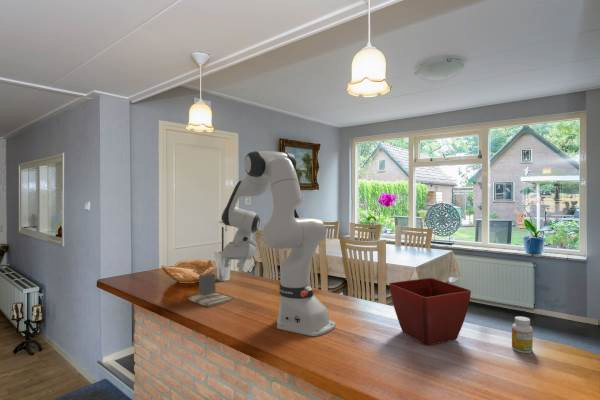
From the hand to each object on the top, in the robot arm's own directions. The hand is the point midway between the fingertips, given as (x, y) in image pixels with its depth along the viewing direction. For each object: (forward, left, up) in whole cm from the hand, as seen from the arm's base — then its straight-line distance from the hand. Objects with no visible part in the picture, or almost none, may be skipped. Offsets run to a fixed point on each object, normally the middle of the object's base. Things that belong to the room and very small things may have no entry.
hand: (232, 267), depth 172 cm
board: (-2, +15, -12) cm, 19 cm away
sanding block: (+3, +13, -11) cm, 17 cm away
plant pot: (-92, -9, -13) cm, 93 cm away
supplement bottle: (-118, -17, -12) cm, 120 cm away
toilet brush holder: (+23, -12, -12) cm, 29 cm away
